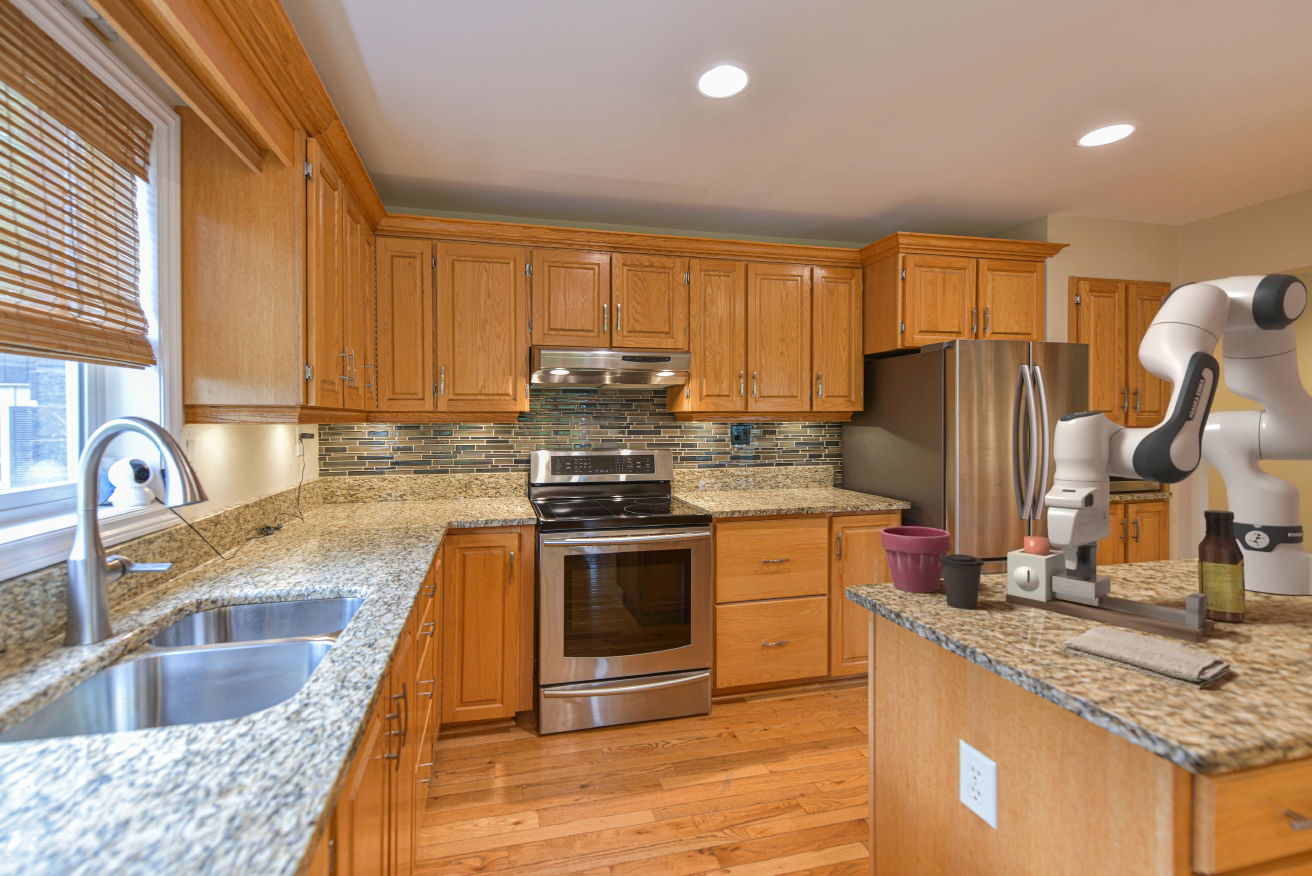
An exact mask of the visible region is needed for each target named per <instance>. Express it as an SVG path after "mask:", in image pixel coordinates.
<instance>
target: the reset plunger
mask: <svg viewBox="0 0 1312 876" xmlns="http://www.w3.org/2000/svg"><path fill="white" fill-rule="evenodd" d="M1023 543H1024V544H1023V546H1024V547H1023V548H1024V553H1027V554H1034V555H1041V556H1048V555H1050V550H1051V549H1050V548H1051V547H1050V546H1051V543H1050V541H1049V537H1045V536H1041V535H1038V536H1037V535H1025V536H1024V538H1023Z"/></svg>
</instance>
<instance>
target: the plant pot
mask: <svg viewBox="0 0 1312 876" xmlns="http://www.w3.org/2000/svg"><path fill="white" fill-rule="evenodd" d="M880 544H881V547H882V548H883V549H885V554H886V558H887V562H888V563H887V564H888V567H889V570H890V576H891V579H892V583H893V587H895V589H897V590H900V591H903V592H909V593H917V594H919V593H921V594H923V593H924V594H926V593H934V592H936V591H938V589H939V584H940V580H941V576H942V573H943V567H942V562H941V561H940V559H941V557H943V556H947V555H946V554H947V553H948V552H949V551H950V550H951V533H950V532H949V531H947V530H944V529H939V528H934V527H926V526H913V525H910V526H908V525H907V526H906V525H905V526H903V525H901V526H900V525H899V526H889V527H885V528H882V529H881V531H880Z"/></svg>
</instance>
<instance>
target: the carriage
mask: <svg viewBox="0 0 1312 876" xmlns="http://www.w3.org/2000/svg"><path fill="white" fill-rule="evenodd" d="M1076 553H1077V559H1078V560H1079V568H1077V569H1075V570H1073V569H1067V568H1066V571H1065V572H1062V573H1059V574H1057V575H1054V576H1052V591H1054V592H1056V598H1059V599H1064V600H1069V601H1074V602H1079V603H1084V604H1089V605H1094V606H1100V597H1101V596H1103V595H1106V596H1108V594H1110V593H1111V576H1109V575H1102V574H1097V554H1096V546H1091V545H1085V544H1084V545H1081V546H1078V551H1077V552H1076Z"/></svg>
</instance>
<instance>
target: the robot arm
mask: <svg viewBox="0 0 1312 876" xmlns="http://www.w3.org/2000/svg"><path fill="white" fill-rule="evenodd" d="M1307 303H1308V292H1307V287H1306V284H1305V283H1304V282H1303V281H1302V280H1301V279H1300V278H1298V277H1297V276H1296V275H1294V274H1288V273H1286V274H1284V273H1269V274H1266V275H1265V274H1264V275H1260V274H1259V275H1257V274H1256V275H1254V274H1253V275H1235V276H1228V277H1227V278H1224V277H1223V278H1218V279H1217V278H1216V279H1212V280H1210V279H1209V280H1205V281H1201V282H1197V281H1196V282H1195V281H1193V282H1188V283H1185V284H1184V283H1183V284H1180V285H1179V286H1176V287H1174V288H1172V289H1171V291H1169V292H1168V293H1167V294H1166V296H1165V297H1164V298H1163V300H1162V303H1161V306H1160V309H1159V311H1158V312H1157V314H1156V315H1155V316H1154V318H1153V320H1152V321H1151V323H1150V325H1149V327H1148V328H1147V331H1146V332H1145V335H1144V336H1143V339H1142V340H1141V342H1140V345H1139V349H1138V355H1137V356H1138V358H1139V361H1140V363H1141V365H1142V367H1143V368H1144V369H1145V370H1147V372H1149V373H1150V374H1151V375H1153V376H1155V377H1157V378H1159V379H1160V380H1163V381H1166V382H1168V383H1172V384H1174V388H1173V391H1172V393H1171V398H1170V401H1169V404H1168V408H1167V409H1166V413H1165V416H1164V418H1163V421H1161V422H1160V423H1159V424H1157V425H1155V426H1153V427H1148V428H1146V427H1145V428H1144V427H1143V428H1141V427H1140V428H1139V427H1138V428H1132V427H1126V426H1124V425H1120V424H1118V423H1116V422H1114V421H1112V420H1110V418H1108V417H1107V415H1106V414H1105V412H1103V411H1100V410H1086V411H1077V412H1071V413H1068V414H1065V415H1064V414H1063V416H1061V417H1060V418H1059V419H1058V421H1057V422H1056V426H1055V430H1054V436H1053V437H1054V438H1053V460H1054V463H1055V472H1054V475H1053V485H1052V487H1051V489H1050V490H1049V491H1048V492H1047V493H1046V494H1045V496H1044V505H1045V506H1048V509H1047V515H1046V516H1047V534H1048V538H1049V541H1050V546H1052V547H1054V548H1061V551H1062V552H1063V555H1064V557H1065V566H1066V568H1067V569H1073V570H1075V569H1077V568H1079V560H1078V559H1077V553H1076V552H1077V551H1078V546H1081V545H1091V546H1096V555H1097V553H1098V550H1099V547H1100V540H1103V539H1107V538H1109V536H1110V533H1111V519H1110V518H1111V517H1110V507H1109V505H1110V476H1111V477H1121V478H1127V479H1137V480H1145V481H1149V482H1150V481H1151V482H1156V483H1160V484H1161V483H1162V484H1166V485H1167V484H1168V485H1173V484H1174V485H1175V484H1177V483H1180V482H1183V481H1184V480H1186V479H1188V478H1189V477H1190V476H1191V475H1193V473H1195V471H1196V470H1197V468H1198V467H1199V466H1200V465H1199V464H1200V462H1201V458H1202V459H1204V460H1205V461H1206V462H1208V463H1209V464H1211V466H1212V467H1213V468H1214V469H1215V470H1216V471H1217V472H1218V474H1219V475H1220V476H1221V479H1222V480H1223V482H1224V485H1225V489H1226V495H1227V511H1231V512H1233V513H1234V520H1233V532H1234V537H1235V539H1236V541H1237V543H1238V545H1239V548H1240V550H1241V552H1242V554H1243V556H1244V578H1245V580H1244V582H1245V590H1246V591H1253V592H1261V593H1267V594H1268V593H1269V594H1279V595H1292V596H1293V595H1295V596H1304V595H1305V596H1312V554H1311V553H1310V552H1309V551H1308V550H1307V549H1306V548H1305V547H1304V546H1303V542H1304V534H1305V533H1304V528H1303V526H1302V525H1301V520H1300V519H1301V493H1300V491H1299V489H1298V487H1296V486H1295V485H1294V484H1293V483H1291V482H1290V481H1288V480H1285V479H1283V478H1282V477H1279V476H1275V475H1274V474H1271V473H1268V472H1266V471H1264V470H1263V469H1262V468H1261V466H1260V463H1259V462H1260V461H1267V460H1268V461H1307V462H1308V461H1312V395H1311V394H1310V393H1309V392H1308V391H1307V390H1306V388H1305V387H1304V384H1303V382H1302V380H1301V377H1300V371H1299V365H1298V356H1297V355H1298V354H1297V339H1296V332H1295V328H1294V322H1296V321H1297V320H1298V319H1299V318H1301V316H1302V315H1303V313H1304V311H1305V309H1306V306H1307ZM1221 336H1222V338H1221ZM1220 339H1221V343H1222V344H1221V354H1222V364H1223V365H1222V366H1223V367H1222V368H1223V380H1224V381H1223V382H1224V385H1225V387H1226V388H1227V389H1228V391H1230V392H1231V393H1233V394H1234V395H1236V396H1237V397H1241V398H1243V399H1247V400H1250V401H1252V402H1255V403H1257V404H1259V405H1260V406H1261V407H1262V408H1264V409H1248V410H1245V409H1243V410H1221V411H1215V412H1214V411H1213V412H1211V410H1212V407H1213V406H1212V405H1213V402H1214V399H1215V395H1216V393H1217V388H1218V385H1219V381H1220V380H1219V379H1220V376H1221V375H1220V374H1221V373H1220V372H1221V371H1220V369H1221V368H1220V363H1219V361H1218V359H1216V358H1215V357H1214V353H1215V349H1216V347H1217V345H1218V343H1219V341H1220Z"/></svg>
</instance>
